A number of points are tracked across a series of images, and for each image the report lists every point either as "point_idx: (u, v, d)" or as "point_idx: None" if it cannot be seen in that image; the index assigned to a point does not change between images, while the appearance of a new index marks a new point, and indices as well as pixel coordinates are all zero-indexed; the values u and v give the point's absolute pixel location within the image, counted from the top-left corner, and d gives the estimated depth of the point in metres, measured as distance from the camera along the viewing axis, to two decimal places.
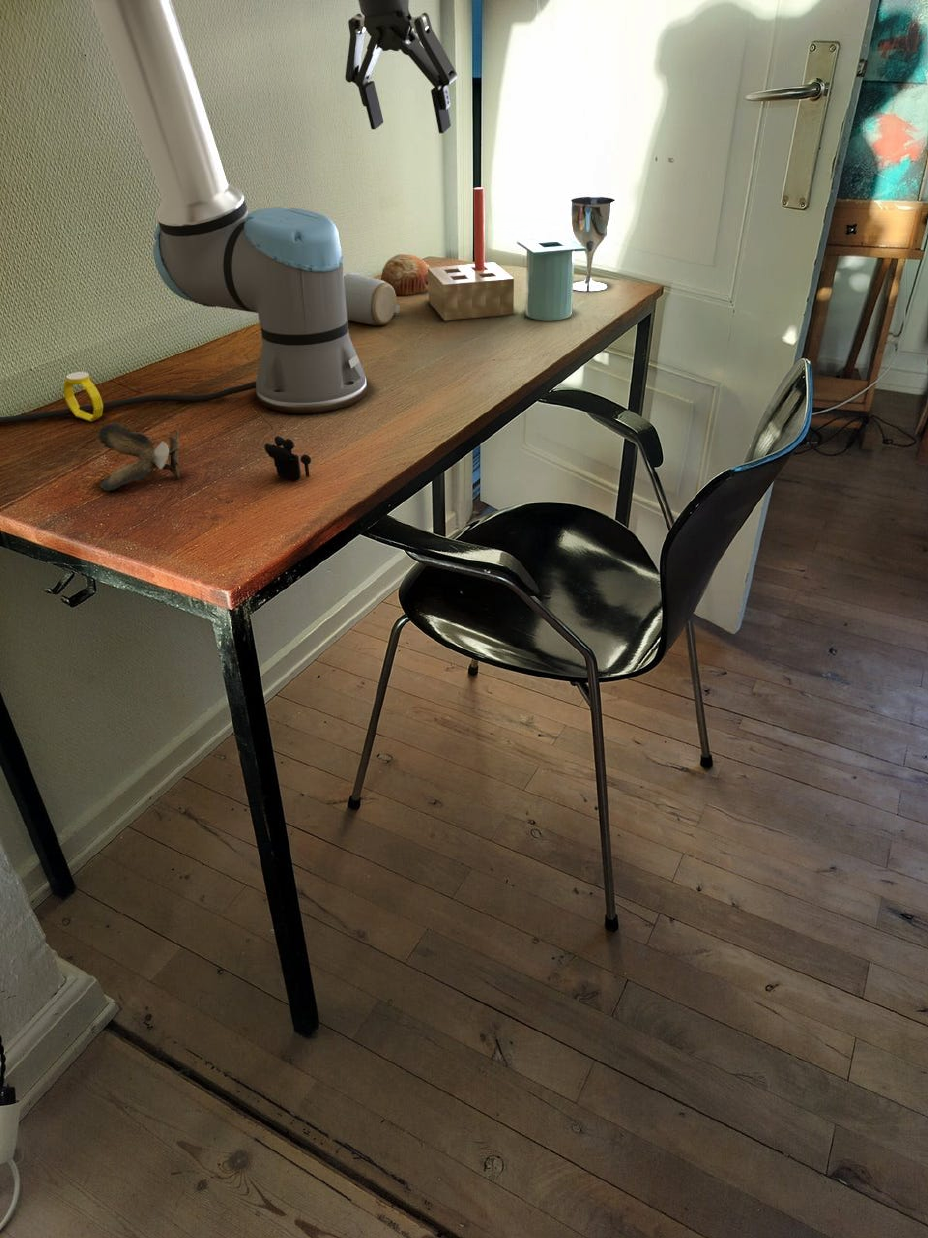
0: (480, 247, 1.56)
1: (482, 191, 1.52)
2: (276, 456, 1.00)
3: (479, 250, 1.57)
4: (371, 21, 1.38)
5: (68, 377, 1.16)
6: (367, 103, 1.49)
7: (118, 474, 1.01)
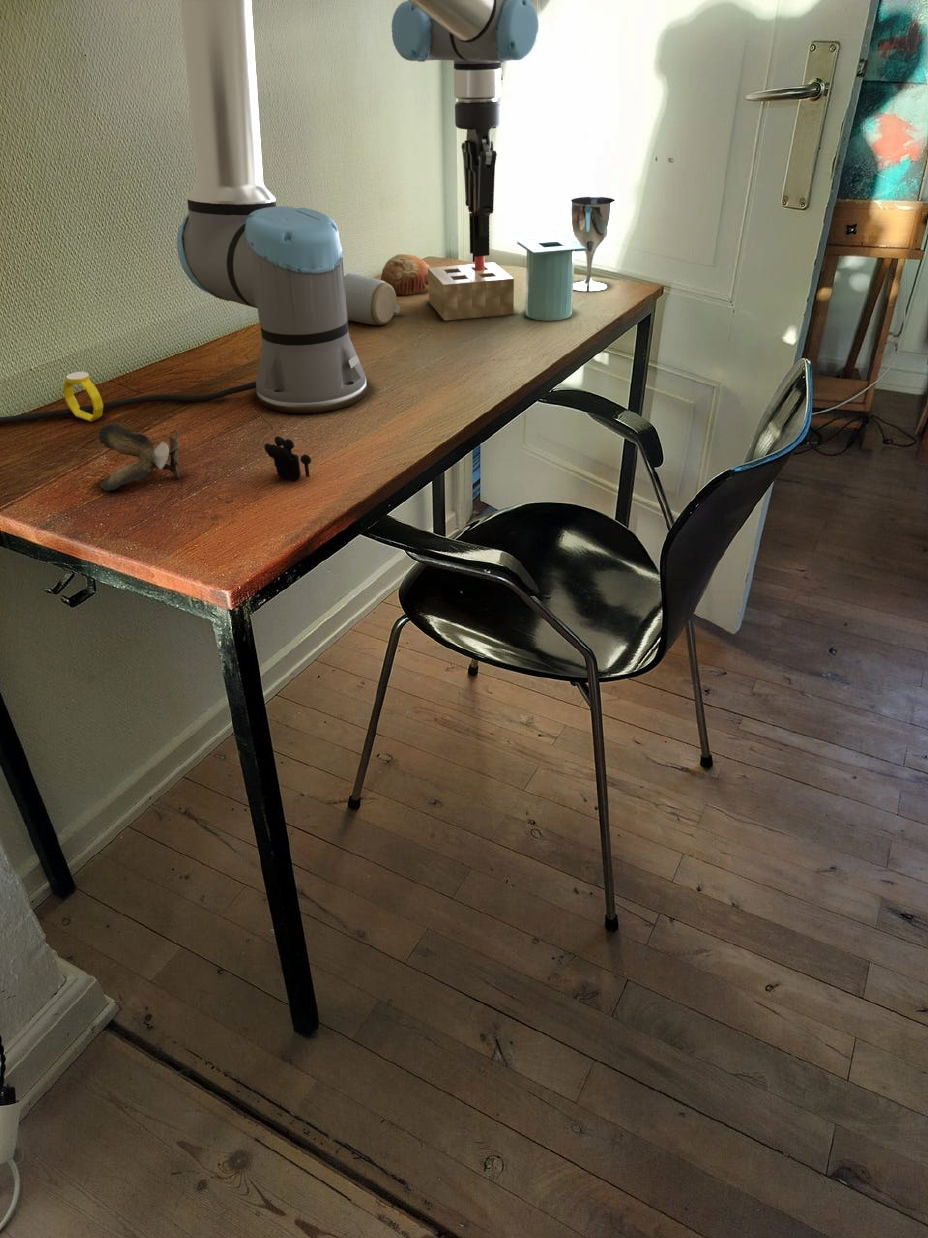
0: None
1: None
2: (276, 456, 1.00)
3: None
4: (467, 132, 1.49)
5: (68, 377, 1.16)
6: (470, 228, 1.56)
7: (118, 474, 1.01)
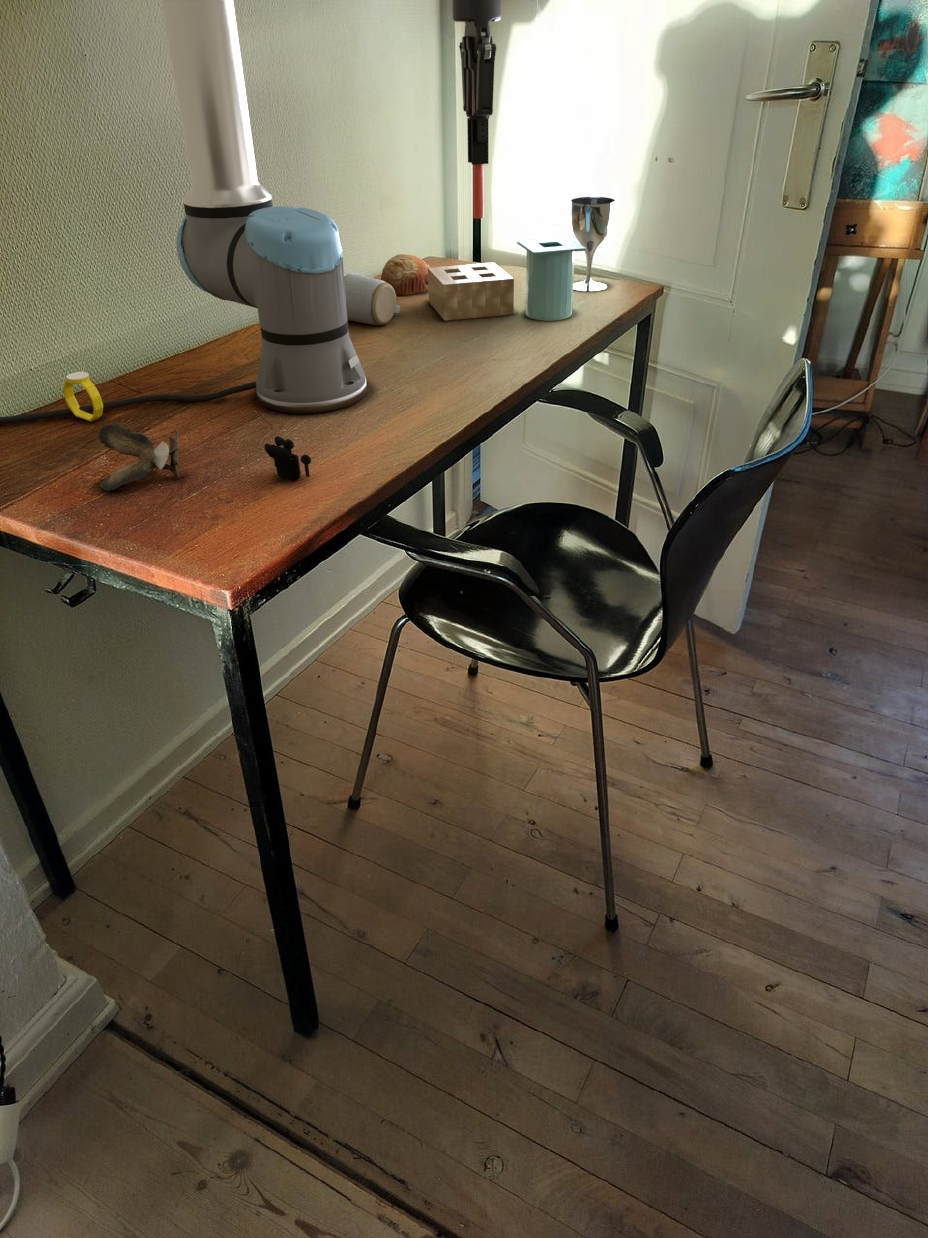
0: None
1: None
2: (276, 456, 1.00)
3: None
4: (465, 28, 1.41)
5: (68, 377, 1.16)
6: (468, 134, 1.48)
7: (118, 474, 1.01)
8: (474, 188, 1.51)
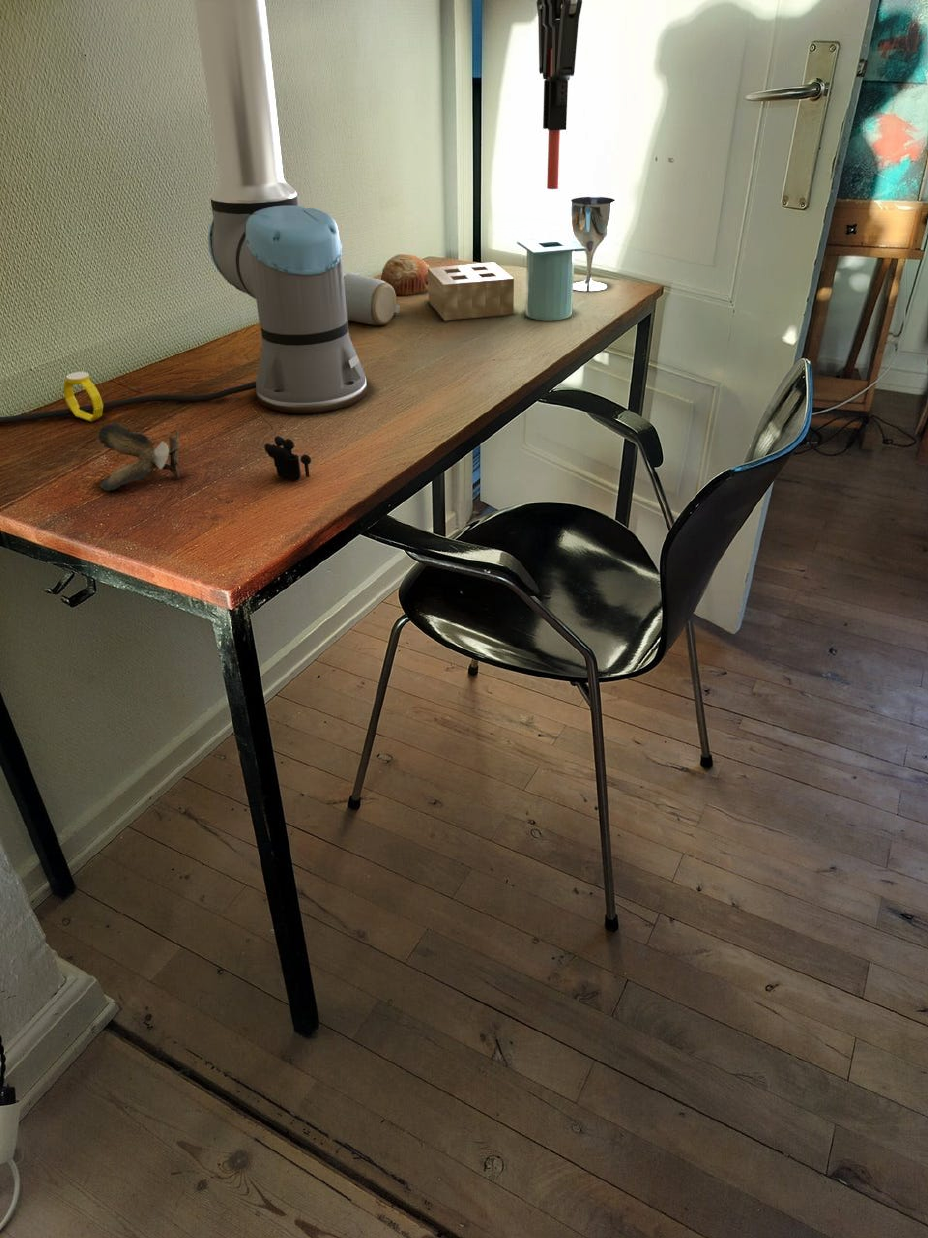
0: None
1: None
2: (276, 456, 1.00)
3: None
4: None
5: (68, 377, 1.16)
6: (544, 98, 1.38)
7: (118, 474, 1.01)
8: (549, 156, 1.42)
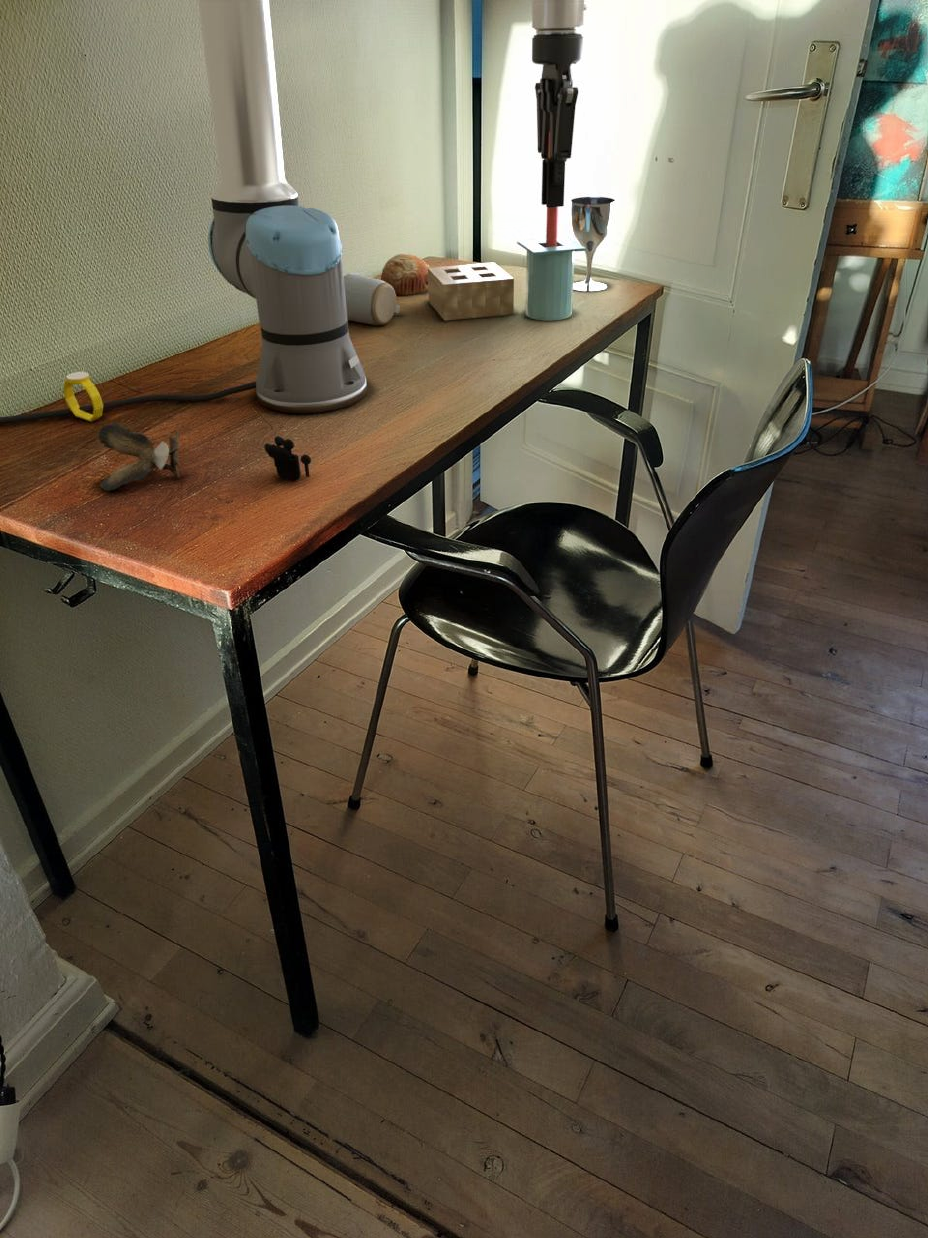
0: None
1: None
2: (276, 456, 1.00)
3: None
4: (543, 69, 1.38)
5: (68, 377, 1.16)
6: (542, 176, 1.44)
7: (118, 474, 1.01)
8: (548, 230, 1.48)
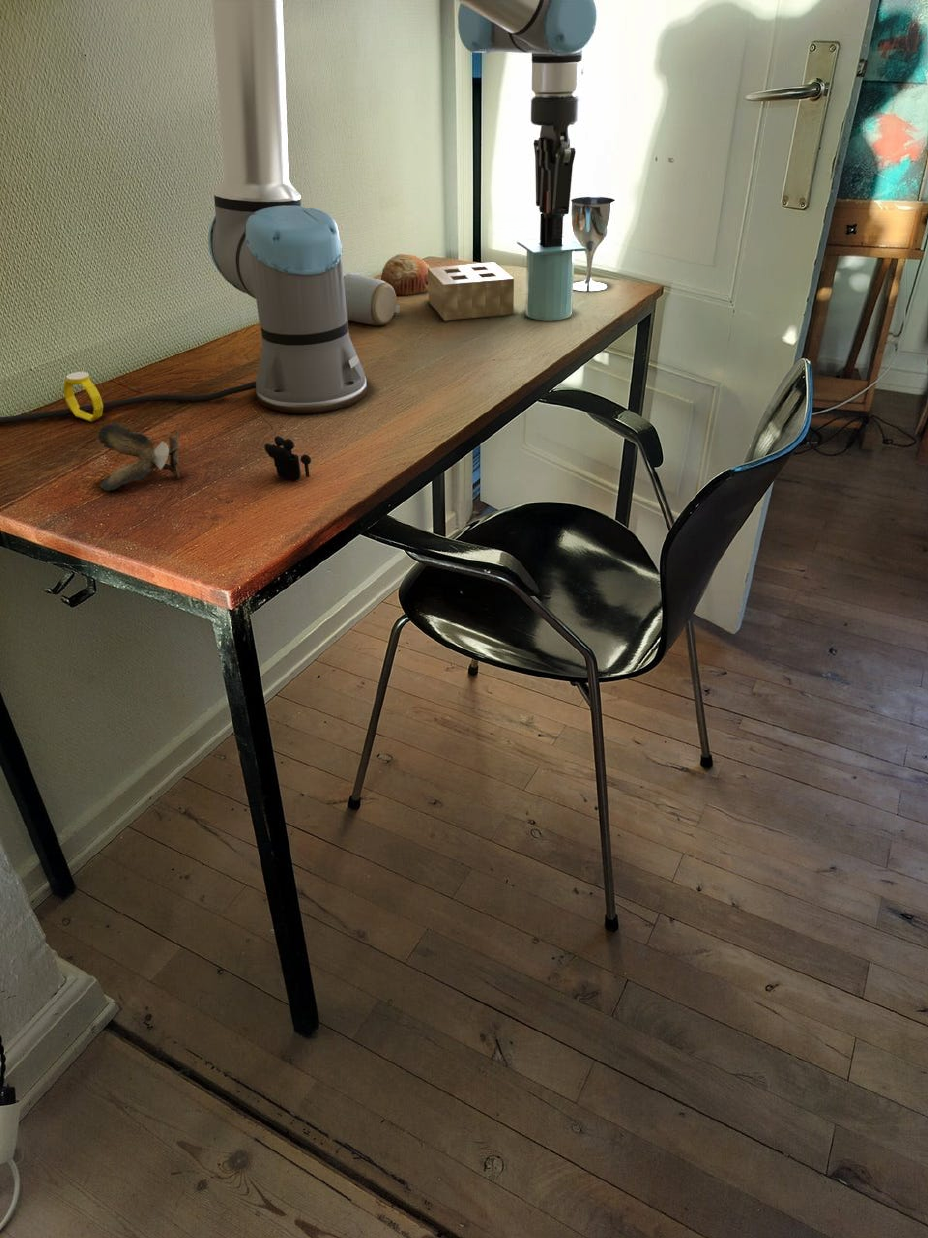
0: None
1: None
2: (276, 456, 1.00)
3: None
4: (541, 128, 1.42)
5: (68, 377, 1.16)
6: (541, 229, 1.49)
7: (118, 474, 1.01)
8: None
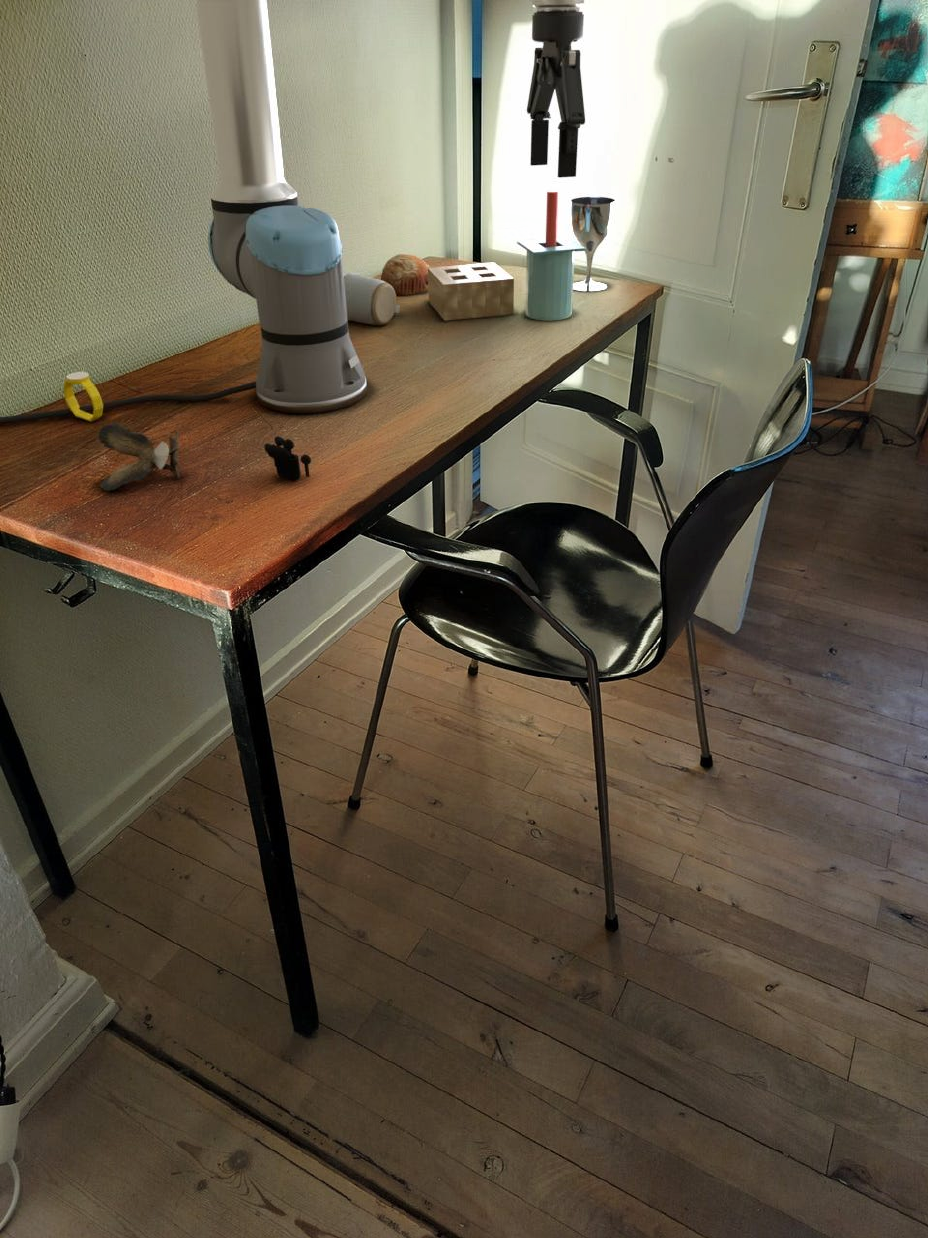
0: None
1: (556, 194, 1.45)
2: (276, 456, 1.00)
3: None
4: (544, 51, 1.36)
5: (68, 377, 1.16)
6: (531, 137, 1.46)
7: (118, 474, 1.01)
8: None
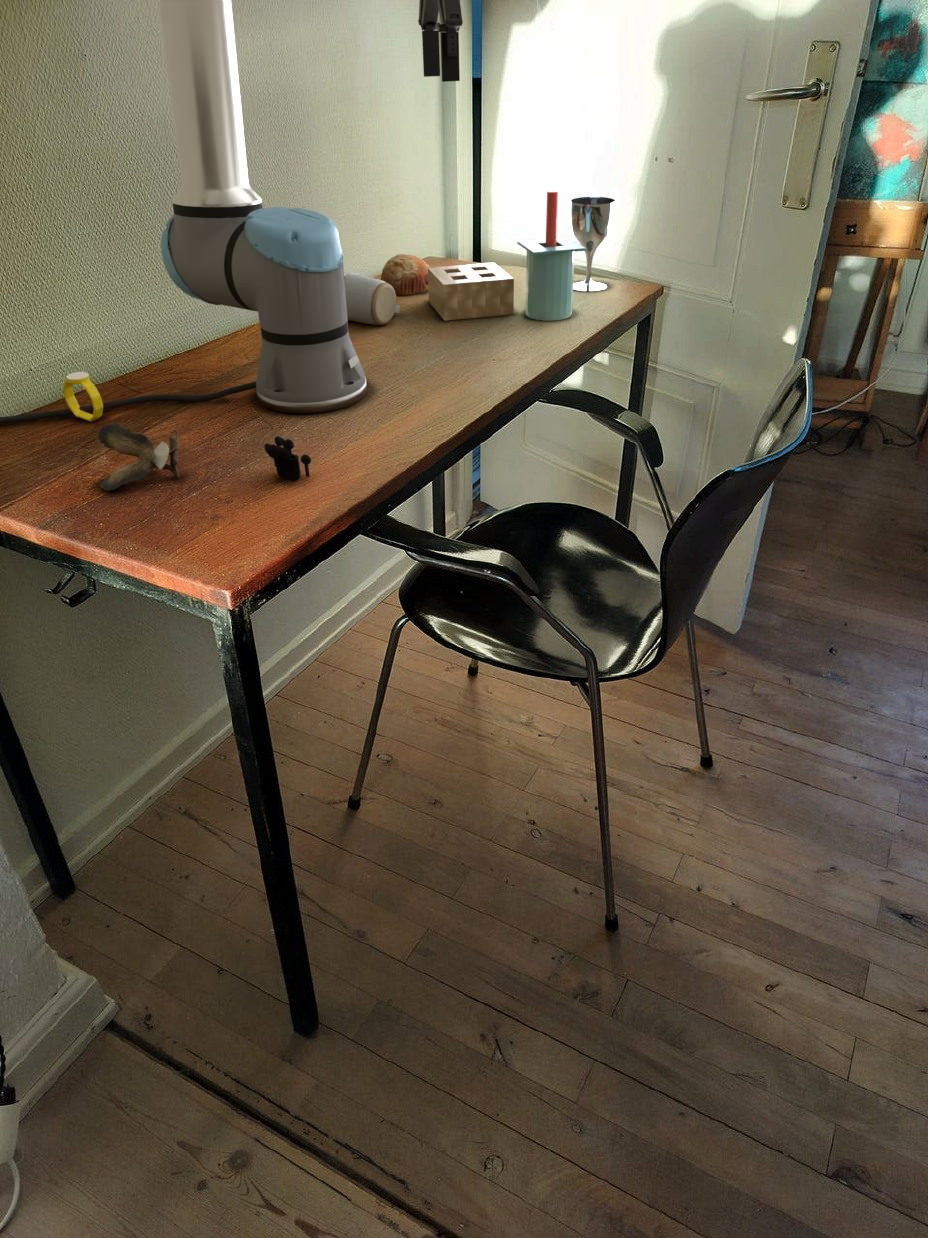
0: None
1: (556, 194, 1.45)
2: (276, 456, 1.00)
3: None
4: None
5: (68, 377, 1.16)
6: (423, 47, 1.50)
7: (117, 474, 1.01)
8: None
